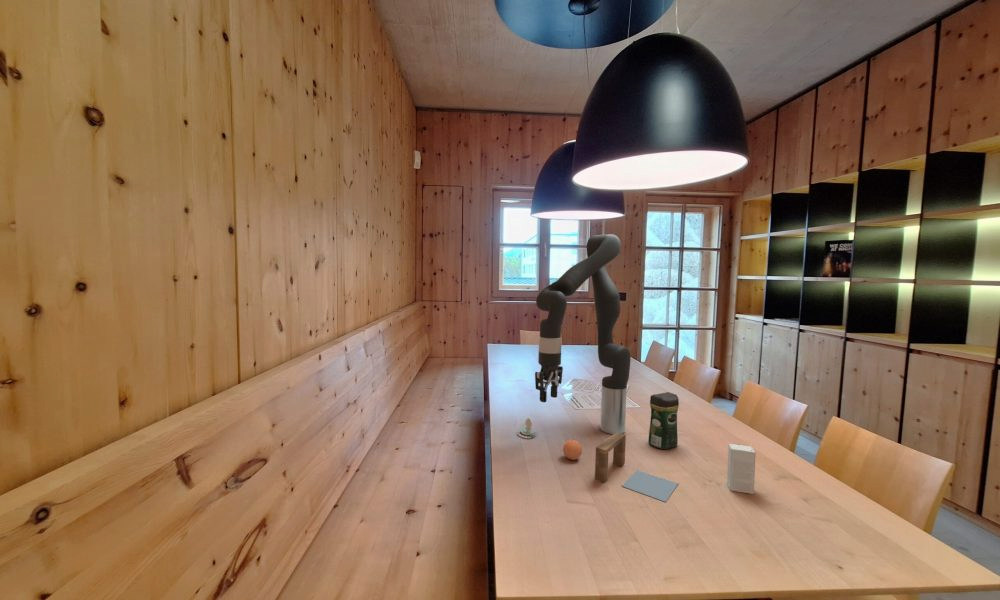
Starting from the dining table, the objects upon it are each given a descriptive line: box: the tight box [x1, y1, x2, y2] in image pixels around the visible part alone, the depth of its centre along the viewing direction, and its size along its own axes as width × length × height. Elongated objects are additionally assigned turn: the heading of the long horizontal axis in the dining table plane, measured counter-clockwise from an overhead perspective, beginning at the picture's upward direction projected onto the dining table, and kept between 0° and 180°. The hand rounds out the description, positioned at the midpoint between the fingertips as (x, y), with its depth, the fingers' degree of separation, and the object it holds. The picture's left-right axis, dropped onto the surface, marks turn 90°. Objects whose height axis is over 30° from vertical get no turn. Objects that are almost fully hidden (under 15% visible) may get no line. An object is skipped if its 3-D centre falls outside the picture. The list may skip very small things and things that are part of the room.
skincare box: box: [726, 443, 757, 495], centre depth 112 cm, size 6×4×12 cm
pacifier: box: [517, 418, 538, 440], centre depth 147 cm, size 7×6×6 cm
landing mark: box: [621, 469, 679, 503], centre depth 114 cm, size 12×12×1 cm
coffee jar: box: [648, 391, 680, 450], centre depth 141 cm, size 10×8×19 cm
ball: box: [562, 439, 583, 461], centre depth 129 cm, size 6×6×6 cm
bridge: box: [594, 432, 627, 484], centre depth 121 cm, size 3×15×10 cm, turn 141°
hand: (548, 399), depth 134 cm, fingers open, 6 cm apart
